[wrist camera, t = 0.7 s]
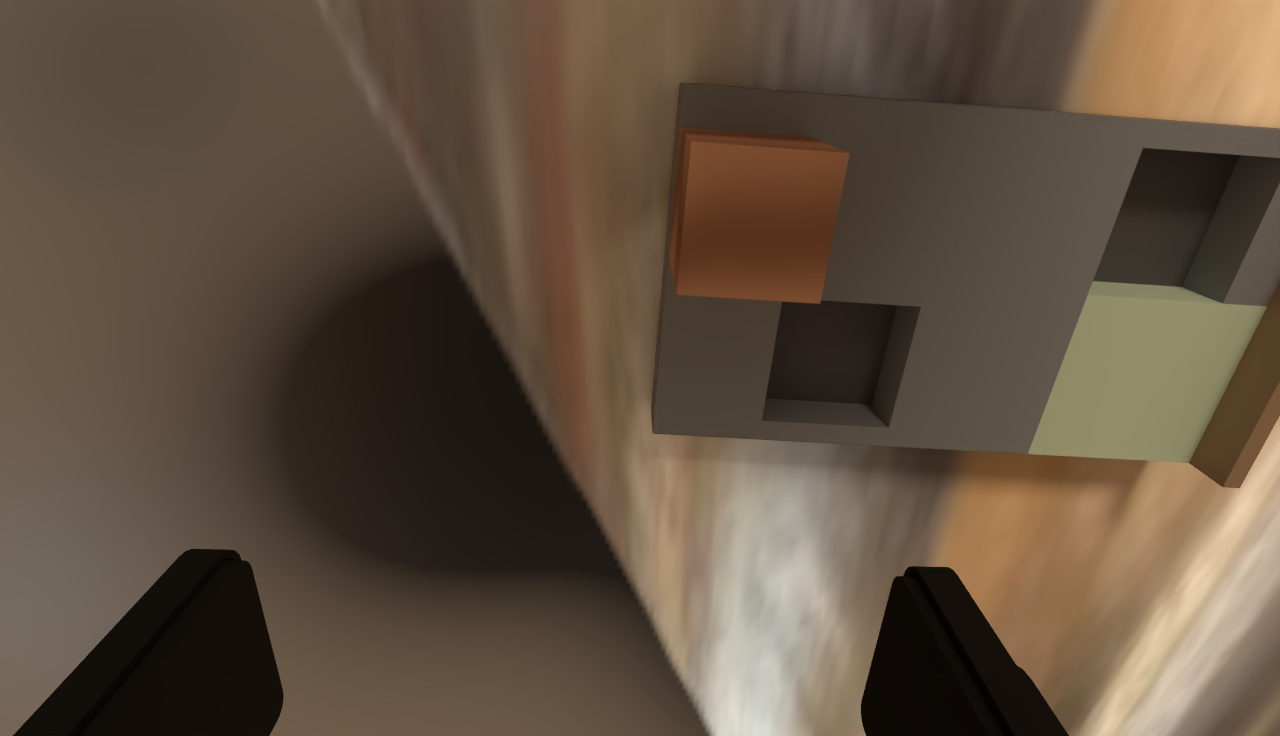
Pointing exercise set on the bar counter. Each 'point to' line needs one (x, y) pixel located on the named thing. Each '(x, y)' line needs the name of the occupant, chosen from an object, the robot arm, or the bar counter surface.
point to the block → (754, 215)
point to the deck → (1001, 288)
